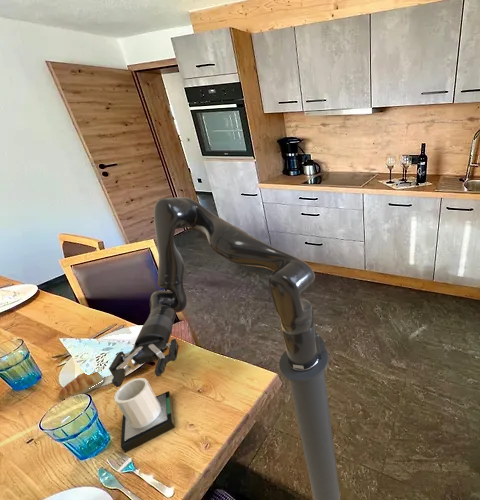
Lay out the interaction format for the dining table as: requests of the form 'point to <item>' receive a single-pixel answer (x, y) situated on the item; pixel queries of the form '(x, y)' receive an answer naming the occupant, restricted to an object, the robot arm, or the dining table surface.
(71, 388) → the pastry
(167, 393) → the scale
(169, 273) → the robot arm
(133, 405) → the cup
